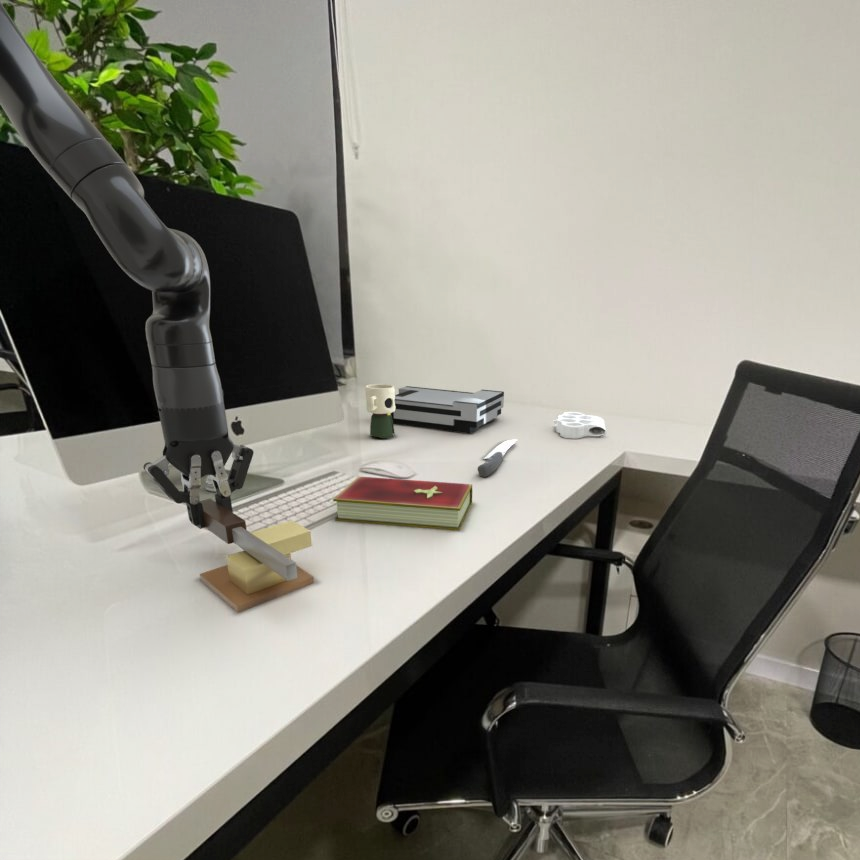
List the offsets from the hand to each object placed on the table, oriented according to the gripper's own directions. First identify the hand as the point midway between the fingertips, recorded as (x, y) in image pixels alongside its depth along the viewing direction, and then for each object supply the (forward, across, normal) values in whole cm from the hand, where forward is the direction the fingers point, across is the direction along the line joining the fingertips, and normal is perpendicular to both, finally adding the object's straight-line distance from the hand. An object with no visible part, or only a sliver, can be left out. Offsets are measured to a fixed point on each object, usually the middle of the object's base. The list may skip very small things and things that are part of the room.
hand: (212, 522), depth 77 cm
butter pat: (+1, -4, +12) cm, 13 cm away
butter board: (+5, 0, +11) cm, 12 cm away
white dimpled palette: (+5, -100, -8) cm, 101 cm away
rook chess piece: (+5, -11, -27) cm, 30 cm away
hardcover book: (+5, -30, +6) cm, 31 cm away
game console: (+5, -79, -42) cm, 90 cm away
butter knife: (0, 0, +9) cm, 9 cm away
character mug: (+5, -56, -37) cm, 68 cm away
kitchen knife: (+5, -64, -5) cm, 65 cm away
